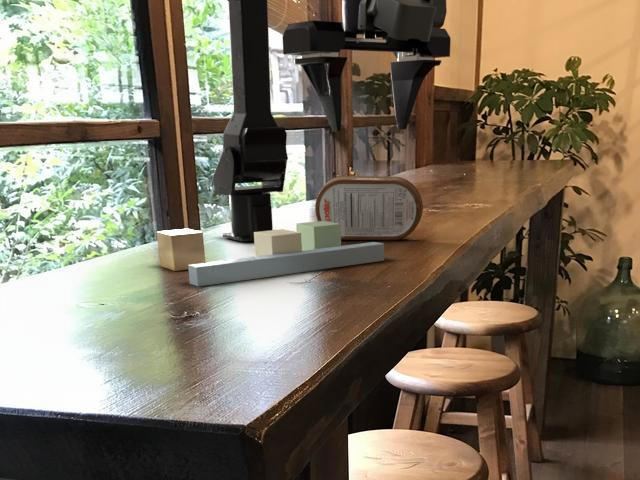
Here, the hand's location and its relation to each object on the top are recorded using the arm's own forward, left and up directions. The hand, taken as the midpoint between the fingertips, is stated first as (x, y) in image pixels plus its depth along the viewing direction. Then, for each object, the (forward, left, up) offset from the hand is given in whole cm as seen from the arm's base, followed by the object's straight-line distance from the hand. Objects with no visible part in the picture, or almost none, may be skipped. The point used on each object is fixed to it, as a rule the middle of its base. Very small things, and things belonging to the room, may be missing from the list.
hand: (370, 130), depth 90 cm
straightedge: (-2, -10, -15) cm, 18 cm away
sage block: (-9, -1, -15) cm, 17 cm away
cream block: (-5, -9, -15) cm, 18 cm away
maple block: (-13, -18, -15) cm, 27 cm away
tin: (-16, +12, -15) cm, 25 cm away
